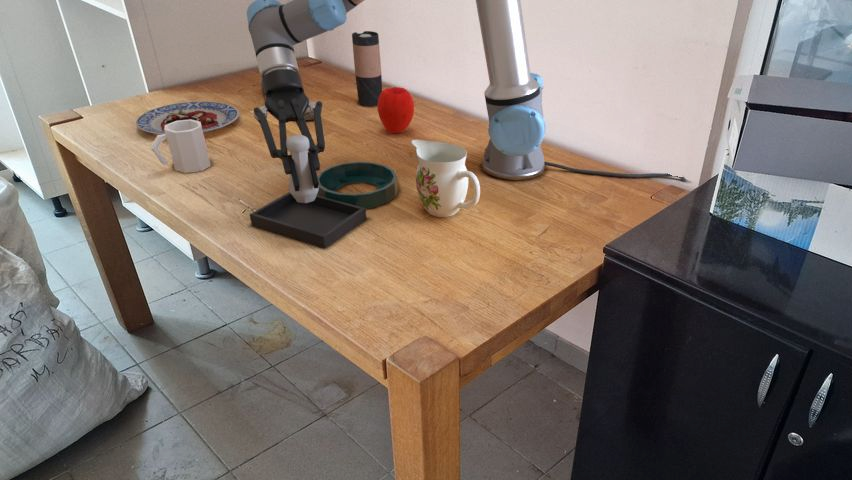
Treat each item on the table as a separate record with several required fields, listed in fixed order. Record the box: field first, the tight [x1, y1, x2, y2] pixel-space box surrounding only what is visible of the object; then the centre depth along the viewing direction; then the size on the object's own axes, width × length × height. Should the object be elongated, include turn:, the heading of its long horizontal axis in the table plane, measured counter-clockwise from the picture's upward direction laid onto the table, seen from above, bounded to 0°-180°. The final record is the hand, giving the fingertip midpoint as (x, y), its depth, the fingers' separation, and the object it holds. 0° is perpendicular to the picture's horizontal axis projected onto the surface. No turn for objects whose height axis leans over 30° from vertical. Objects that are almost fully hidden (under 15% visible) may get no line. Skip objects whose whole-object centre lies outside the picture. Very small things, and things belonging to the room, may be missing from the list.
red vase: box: [376, 86, 415, 134], centre depth 175 cm, size 10×10×12 cm
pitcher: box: [411, 138, 481, 218], centre depth 137 cm, size 11×18×14 cm, turn 53°
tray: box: [249, 191, 368, 249], centre depth 134 cm, size 19×14×3 cm
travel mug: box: [351, 30, 383, 108], centre depth 192 cm, size 8×8×20 cm
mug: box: [150, 120, 211, 174], centre depth 152 cm, size 12×9×10 cm
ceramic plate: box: [135, 100, 240, 135], centre depth 177 cm, size 26×26×3 cm
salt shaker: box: [286, 134, 319, 203], centre depth 128 cm, size 6×6×13 cm
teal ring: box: [317, 161, 399, 210], centre depth 146 cm, size 18×18×4 cm
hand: (307, 187), depth 126 cm, fingers closed on salt shaker, 3 cm apart
